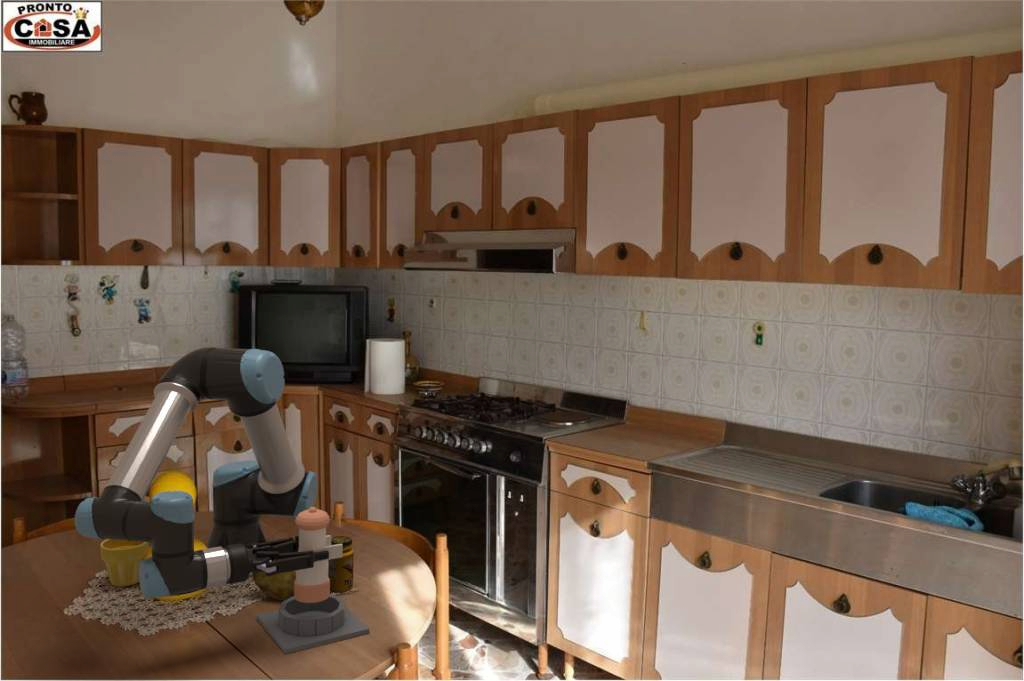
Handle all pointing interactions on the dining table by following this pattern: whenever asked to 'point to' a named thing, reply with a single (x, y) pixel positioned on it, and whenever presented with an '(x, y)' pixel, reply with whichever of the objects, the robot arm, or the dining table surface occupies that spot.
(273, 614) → the collar stand
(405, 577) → the dining table surface
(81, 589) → the dining table surface
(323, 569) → the salt shaker
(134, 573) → the plant pot
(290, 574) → the potato
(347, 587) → the condiment
